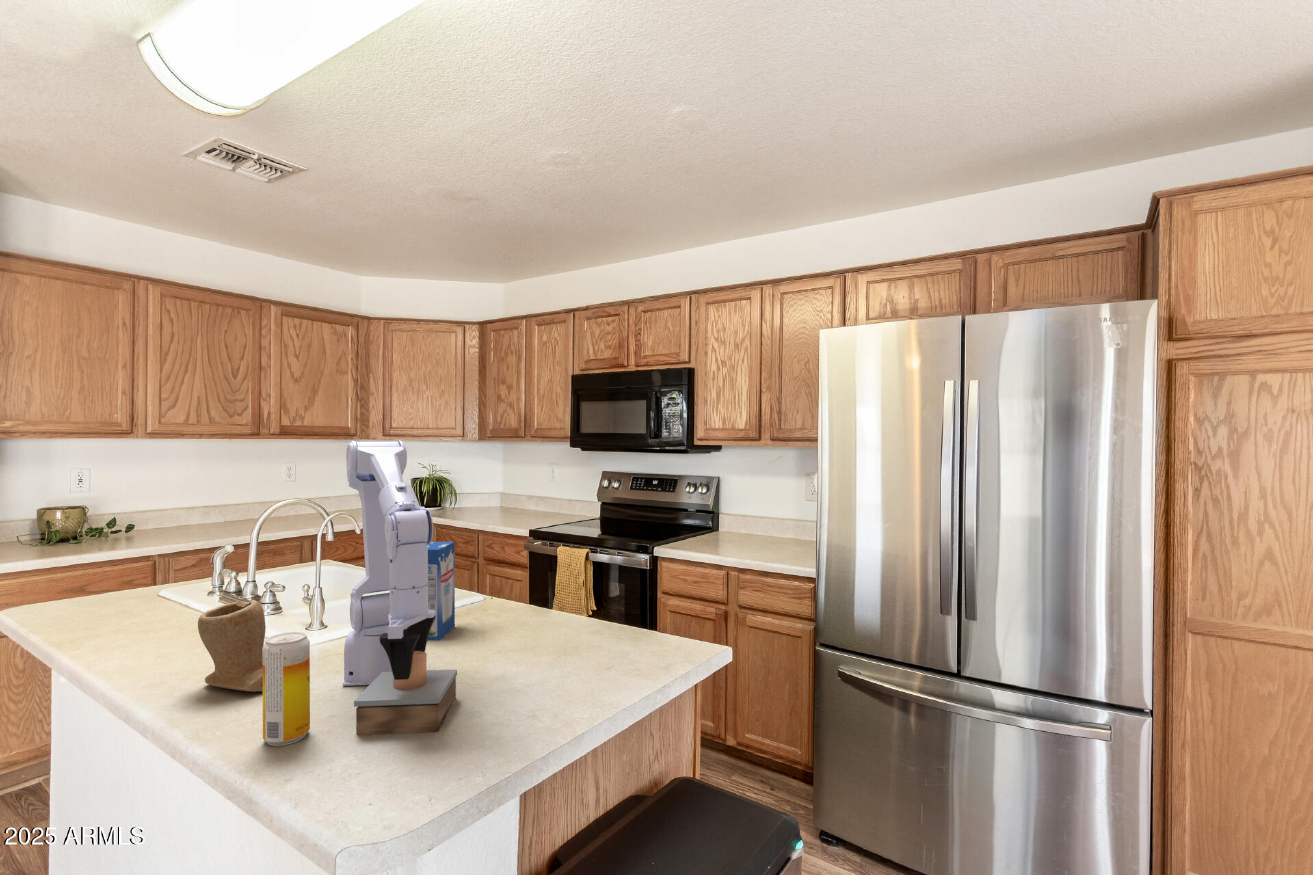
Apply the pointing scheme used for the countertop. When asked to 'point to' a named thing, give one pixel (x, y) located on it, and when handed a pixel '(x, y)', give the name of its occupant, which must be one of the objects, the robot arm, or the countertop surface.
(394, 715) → the box
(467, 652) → the countertop surface
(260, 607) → the stone cup
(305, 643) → the beer can
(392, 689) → the lid
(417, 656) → the tan rounded cylinder
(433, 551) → the milk carton
